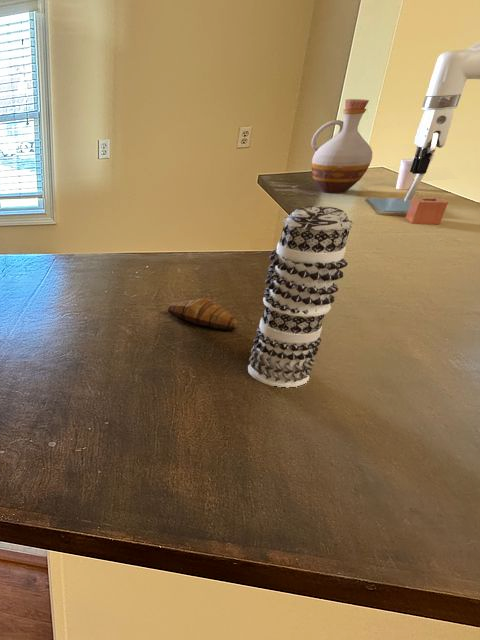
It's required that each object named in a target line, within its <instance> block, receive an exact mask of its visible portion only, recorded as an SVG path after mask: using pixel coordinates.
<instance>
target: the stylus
mask: <svg viewBox="0 0 480 640" xmlns="http://www.w3.org/2000/svg"><path fill="white" fill-rule="evenodd" d="M434 157H435V153H433V154H432V157H431V160H430V163H429V166H428V168H429V167H430V165H431V163H432V161H433V159H434ZM424 176H425V174H416V176H415V178H414V180H413V182H412V184H411V186H410V188H409V189H408V191H407V194H406V196H405V197H404V198H405V199H404V200H405V202H409V201H411V199H412V198H413V197H414V195H415V194H416V191H417V190H418V187H419V186H420V184H421V182H422V180H423V179H424Z"/></svg>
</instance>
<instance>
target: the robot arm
mask: <svg viewBox="0 0 480 640" xmlns="http://www.w3.org/2000/svg"><path fill="white" fill-rule="evenodd" d="M467 80H480V40H479V41H477V42H476V43H474V44H473V45H471V46H470V47H469V48H467V49H455V50H449V51H448V50H447V51H444V52H442V53H440V54H439V56H438V57H437V60H436V62H435V65H434V68H433V72H432V75H431V78H430V82H429V84H428V87H427V90H426V94H425V97H424V100H423V103H422V107H421V110H423V114H422V116H421V119H420V122H419V125H418V127H417V131H416V133H415V137H414V142H413V143H414V145H415V146H416V150H415V153H414V156H415V158H414V157H413V159H414V160H413V163H412V166H411V169H410V172H412V173H413V174H416V175H417V174H424V175H425V174H427V171H428V169H429V167H430V165H429V163H430V160H431V157H432V154H435V152H436V148H439V149H442V148H443V147H445V145H446V141H447V138H448V135H449V131H450V128H451V125H452V120H453V117H454V112H455V109H457V108H458V105H459V103H460V99H461V96H462V93H463V90H464V87H465V86H466V82H467ZM430 164H431V163H430ZM428 166H429V167H428Z"/></svg>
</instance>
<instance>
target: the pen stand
mask: <svg viewBox="0 0 480 640" xmlns="http://www.w3.org/2000/svg"><path fill="white" fill-rule="evenodd" d="M448 204H449V202H448V201H447V200H446V199H443V198H442V197H441V196H440V197H437V196H436V197H432V196H431V197H429V196H413V197H412V201H411V204H410V206H409V209H408V212H407V215H405V219H406V220H407V221H408V222H410V224H413V225H414V224H419V225H440V224H441V222H442V219H443V217H444V215H445V212H446V210H447V207H448Z"/></svg>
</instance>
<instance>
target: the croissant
mask: <svg viewBox="0 0 480 640" xmlns="http://www.w3.org/2000/svg"><path fill="white" fill-rule="evenodd" d="M167 311H168V312H167V313H169V314H170V315H171V316H173V317H176V318H178V319H181V320H183V321H186V322H189V323H191V324H192V325H197V326H202V327H209V328H212V329H215V330H216V329H217V330H222V331H235V330H236V329H237V328H238V326H239V321H238V320H237V318H236V317H235V316H234V315H233V314H232V313H230V312H229V311H227V310H226V308H224V307H222V306H221V305H220V303H219V302H218V301H216V300H214V299H211V298H207V297H202V298H196V299H192V300H184V301H177V302H173V303H169V306H168V308H167Z"/></svg>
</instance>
